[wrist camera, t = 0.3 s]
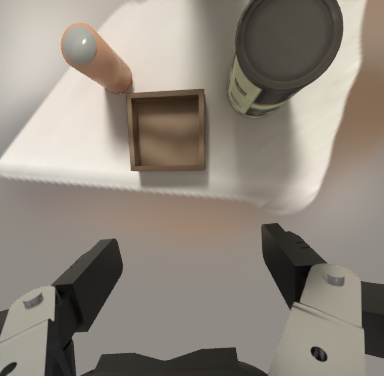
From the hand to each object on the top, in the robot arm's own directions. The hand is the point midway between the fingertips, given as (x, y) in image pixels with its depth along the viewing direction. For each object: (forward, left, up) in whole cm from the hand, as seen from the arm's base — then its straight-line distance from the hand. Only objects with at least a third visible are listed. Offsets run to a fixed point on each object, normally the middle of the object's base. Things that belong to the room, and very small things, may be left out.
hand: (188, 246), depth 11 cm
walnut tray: (-9, -7, -27) cm, 29 cm away
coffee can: (-17, +9, -27) cm, 33 cm away
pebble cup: (-20, -16, -27) cm, 37 cm away
